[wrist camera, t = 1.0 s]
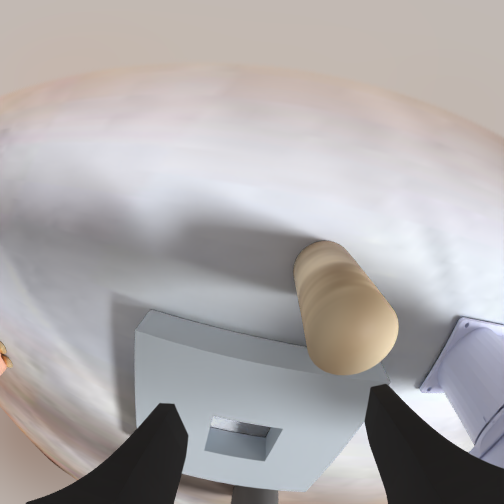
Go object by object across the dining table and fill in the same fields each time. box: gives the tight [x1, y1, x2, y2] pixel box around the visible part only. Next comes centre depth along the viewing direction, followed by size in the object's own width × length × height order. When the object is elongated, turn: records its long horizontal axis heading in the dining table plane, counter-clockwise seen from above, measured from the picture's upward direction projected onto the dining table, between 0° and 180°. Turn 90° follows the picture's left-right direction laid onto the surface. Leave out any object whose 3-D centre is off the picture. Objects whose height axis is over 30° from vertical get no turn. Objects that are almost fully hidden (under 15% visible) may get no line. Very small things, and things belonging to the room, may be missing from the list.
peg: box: [293, 241, 399, 375], centre depth 15 cm, size 4×4×8 cm
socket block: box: [134, 309, 390, 492], centre depth 22 cm, size 18×18×3 cm
